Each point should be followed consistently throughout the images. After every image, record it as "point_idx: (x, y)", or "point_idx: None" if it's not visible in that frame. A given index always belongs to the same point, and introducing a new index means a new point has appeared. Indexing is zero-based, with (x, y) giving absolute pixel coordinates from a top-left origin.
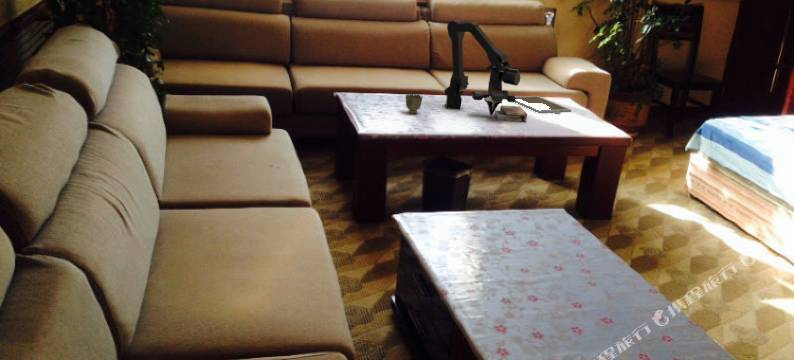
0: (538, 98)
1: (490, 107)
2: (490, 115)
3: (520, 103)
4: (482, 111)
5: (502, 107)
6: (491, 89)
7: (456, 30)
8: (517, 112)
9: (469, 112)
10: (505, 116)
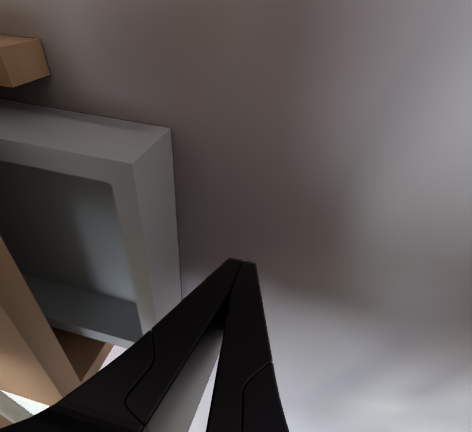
0: None
1: (251, 388)
2: (253, 262)
3: (4, 411)
4: (278, 389)
5: (43, 366)
6: None
7: None
8: None
9: (460, 401)
10: (14, 129)
